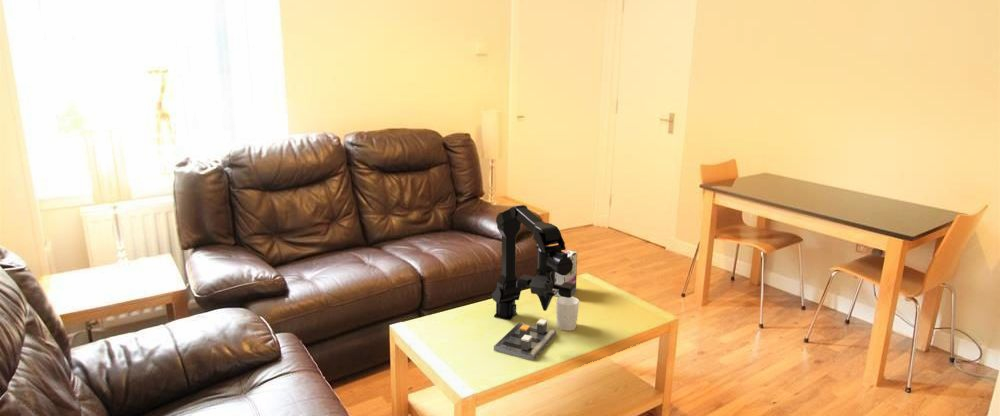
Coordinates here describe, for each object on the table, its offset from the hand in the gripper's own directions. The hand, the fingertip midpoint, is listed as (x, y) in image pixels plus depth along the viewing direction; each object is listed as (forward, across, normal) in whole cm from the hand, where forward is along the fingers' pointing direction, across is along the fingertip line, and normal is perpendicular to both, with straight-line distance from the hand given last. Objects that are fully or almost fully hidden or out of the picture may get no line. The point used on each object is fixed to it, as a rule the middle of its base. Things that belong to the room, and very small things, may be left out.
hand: (545, 310), depth 196 cm
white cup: (+13, +2, +18) cm, 22 cm away
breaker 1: (+11, -7, 0) cm, 13 cm away
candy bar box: (+13, -9, +46) cm, 48 cm away
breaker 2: (+11, -3, -6) cm, 13 cm away
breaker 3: (+11, -3, +7) cm, 13 cm away
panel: (+13, -6, 0) cm, 15 cm away
